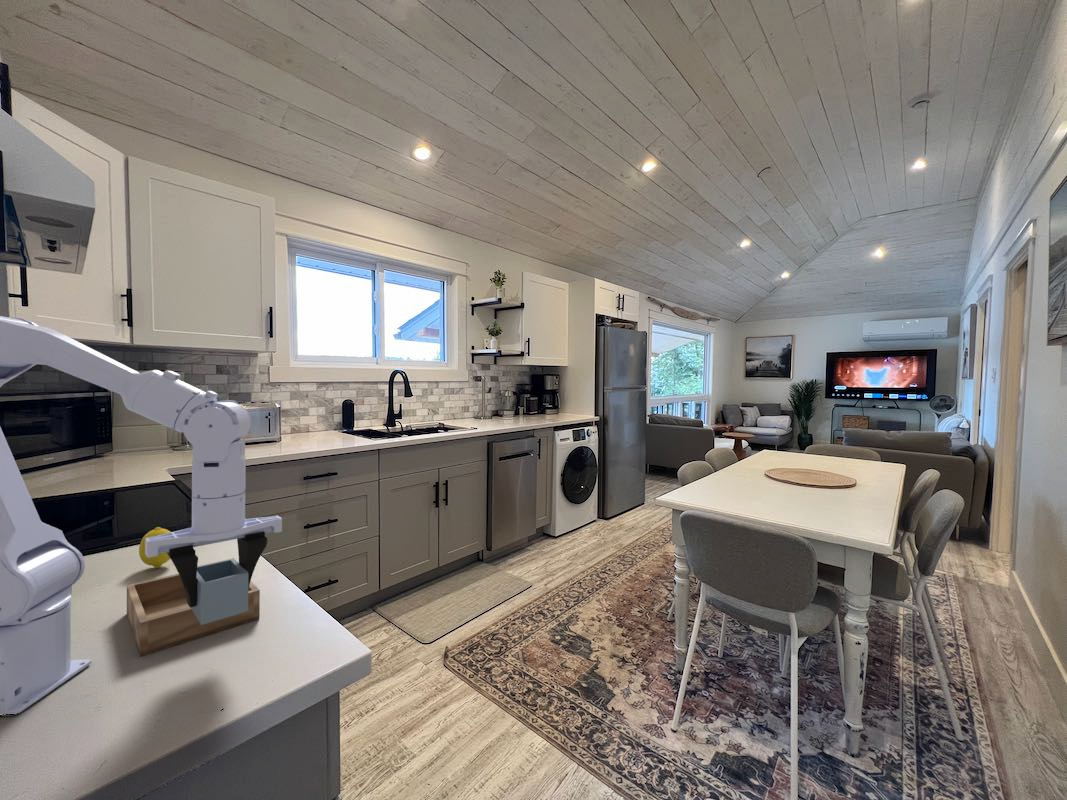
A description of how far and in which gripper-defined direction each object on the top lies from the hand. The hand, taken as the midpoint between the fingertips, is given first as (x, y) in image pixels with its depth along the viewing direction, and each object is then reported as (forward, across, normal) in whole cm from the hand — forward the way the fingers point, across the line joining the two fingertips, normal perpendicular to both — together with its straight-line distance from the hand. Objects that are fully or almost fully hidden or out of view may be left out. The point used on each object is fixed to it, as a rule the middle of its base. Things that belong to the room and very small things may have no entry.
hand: (218, 597), depth 59 cm
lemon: (+9, +1, -44) cm, 44 cm away
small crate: (+2, 0, 0) cm, 2 cm away
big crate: (+8, 0, -16) cm, 18 cm away
